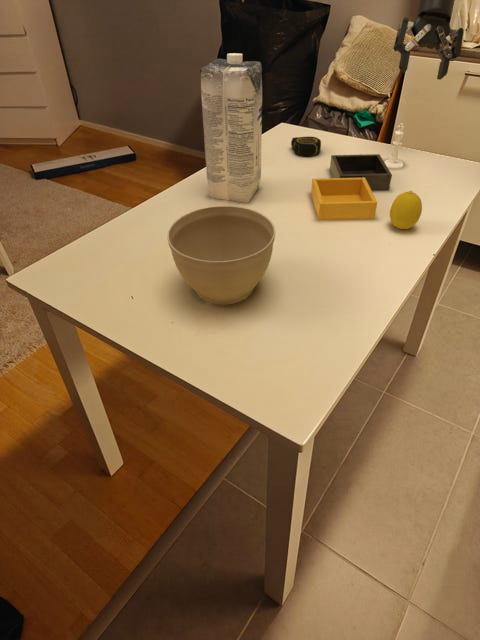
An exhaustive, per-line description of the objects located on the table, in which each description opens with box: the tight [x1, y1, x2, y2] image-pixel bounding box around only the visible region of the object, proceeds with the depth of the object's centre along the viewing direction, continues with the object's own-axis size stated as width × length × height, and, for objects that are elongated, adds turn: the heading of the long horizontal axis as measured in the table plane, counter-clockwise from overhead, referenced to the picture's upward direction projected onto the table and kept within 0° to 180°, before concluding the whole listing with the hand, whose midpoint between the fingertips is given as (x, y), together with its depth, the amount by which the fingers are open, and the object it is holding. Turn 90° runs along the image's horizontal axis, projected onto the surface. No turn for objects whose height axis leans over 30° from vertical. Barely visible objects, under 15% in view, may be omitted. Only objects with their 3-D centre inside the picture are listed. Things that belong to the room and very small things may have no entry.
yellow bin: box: [310, 177, 378, 221], centre depth 94 cm, size 11×11×4 cm
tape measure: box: [290, 136, 322, 157], centre depth 115 cm, size 7×7×4 cm
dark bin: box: [329, 153, 393, 192], centre depth 103 cm, size 11×11×4 cm
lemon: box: [389, 190, 423, 230], centre depth 86 cm, size 6×6×8 cm
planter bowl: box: [166, 205, 276, 305], centre depth 72 cm, size 16×16×11 cm
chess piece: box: [383, 122, 405, 169], centre depth 107 cm, size 5×5×10 cm
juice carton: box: [199, 52, 263, 204], centre depth 92 cm, size 9×10×27 cm
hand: (422, 75), depth 103 cm, fingers open, 8 cm apart
